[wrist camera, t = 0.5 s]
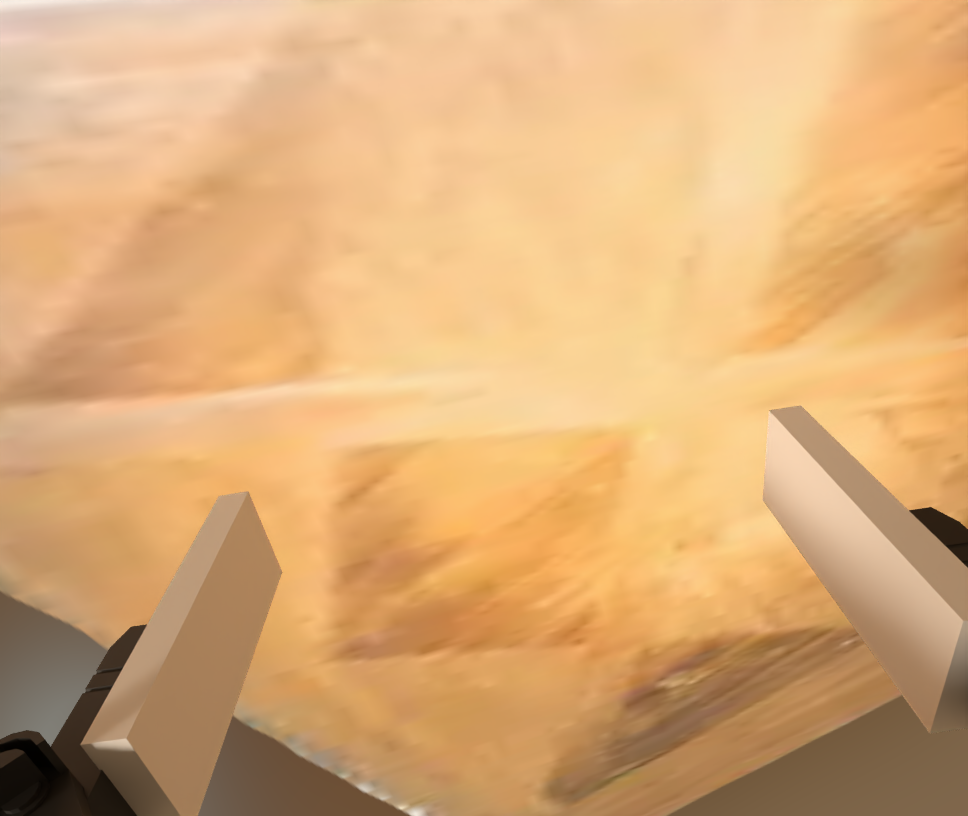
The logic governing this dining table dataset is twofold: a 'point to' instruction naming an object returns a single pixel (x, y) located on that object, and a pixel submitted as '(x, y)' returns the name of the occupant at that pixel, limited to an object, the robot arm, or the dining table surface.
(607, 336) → the dining table surface
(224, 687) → the robot arm
